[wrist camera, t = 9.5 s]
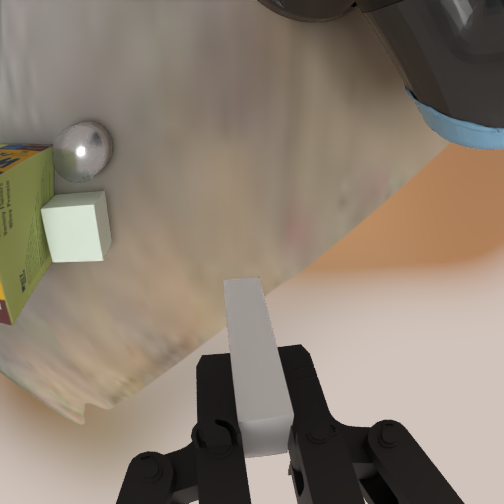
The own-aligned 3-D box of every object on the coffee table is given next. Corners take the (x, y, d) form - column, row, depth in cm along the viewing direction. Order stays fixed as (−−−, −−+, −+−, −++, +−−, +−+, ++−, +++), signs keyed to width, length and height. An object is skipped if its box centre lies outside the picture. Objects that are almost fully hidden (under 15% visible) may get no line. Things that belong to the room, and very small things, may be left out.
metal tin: (61, 126, 31) (47, 131, 28) (110, 116, 32) (100, 120, 28) (69, 176, 34) (57, 186, 31) (116, 169, 35) (107, 178, 32)
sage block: (56, 194, 35) (40, 208, 31) (105, 190, 36) (93, 204, 32) (65, 243, 38) (52, 262, 34) (112, 241, 39) (103, 260, 35)
